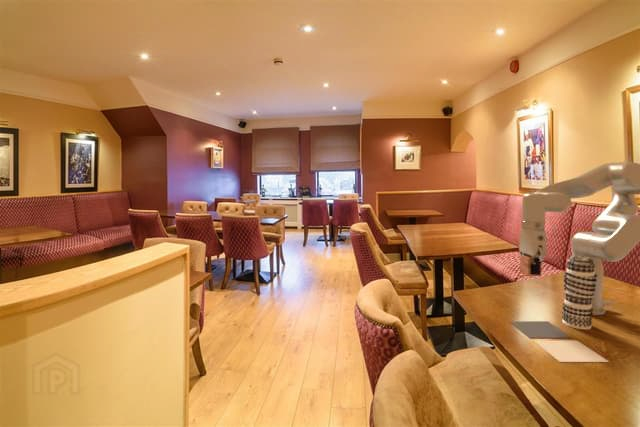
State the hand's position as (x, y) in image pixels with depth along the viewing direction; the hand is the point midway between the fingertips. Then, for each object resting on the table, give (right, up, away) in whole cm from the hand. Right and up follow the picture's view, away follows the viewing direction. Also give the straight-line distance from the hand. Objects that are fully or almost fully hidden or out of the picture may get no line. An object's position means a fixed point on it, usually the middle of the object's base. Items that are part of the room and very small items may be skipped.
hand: (530, 271), depth 122 cm
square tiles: (-4, -20, -18) cm, 27 cm away
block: (0, -1, 0) cm, 1 cm away
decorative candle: (+12, -18, -7) cm, 23 cm away
